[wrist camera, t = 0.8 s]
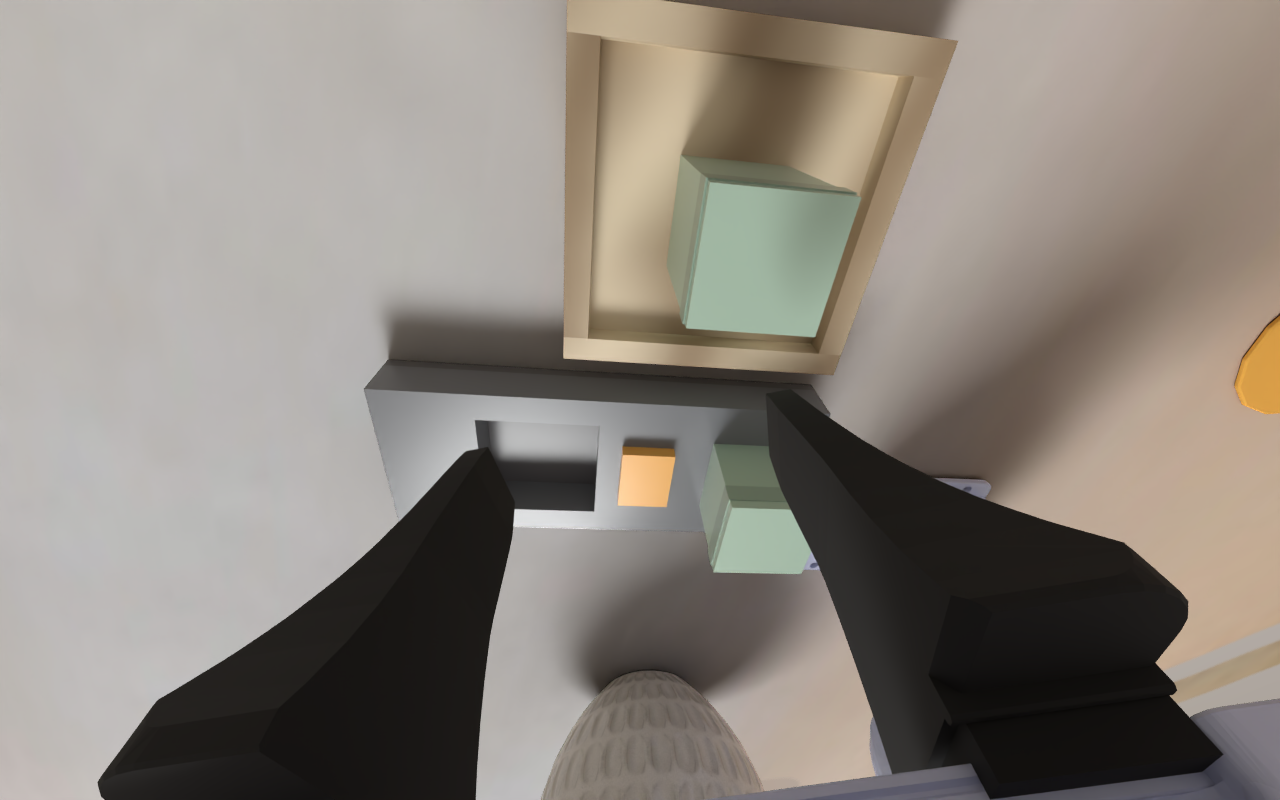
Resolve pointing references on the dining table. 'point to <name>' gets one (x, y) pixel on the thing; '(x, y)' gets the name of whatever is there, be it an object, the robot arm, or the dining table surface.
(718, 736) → the vase
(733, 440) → the gray fixture base
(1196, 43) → the dining table surface
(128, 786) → the robot arm
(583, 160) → the tray
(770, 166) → the plug
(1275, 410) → the cup
